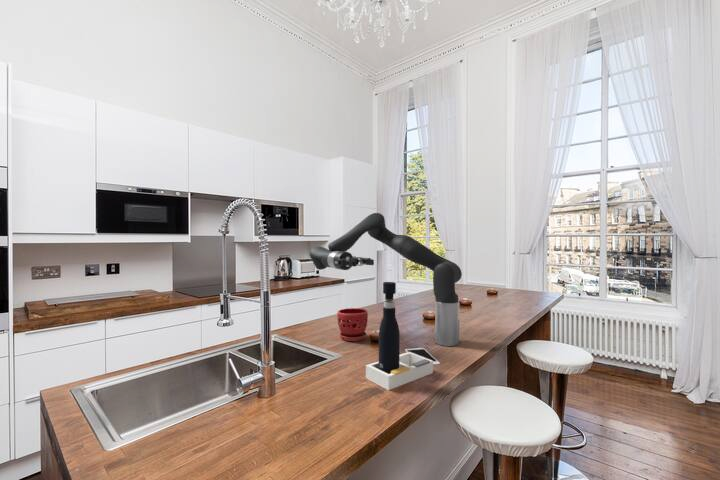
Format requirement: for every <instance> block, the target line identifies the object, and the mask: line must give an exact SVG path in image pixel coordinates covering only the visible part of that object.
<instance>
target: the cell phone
mask: <svg viewBox="0 0 720 480" xmlns="http://www.w3.org/2000/svg"><path fill="white" fill-rule="evenodd" d="M404 351H405V353H407V352H411V353H414V354H417V355H419V356H422V357H425V358H427V359H430V360H432V361H433V366H435V365H440V364H441V362H439V360H437V359H436V358H435V357H434V356H433V355H432V354H431V353H429V351H427V350H426V349H425V348H424V347H417V348H416V347H415V348H404Z"/></svg>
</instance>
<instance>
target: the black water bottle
mask: <svg viewBox="0 0 720 480" xmlns="http://www.w3.org/2000/svg"><path fill="white" fill-rule="evenodd" d="M396 286H397V285H396V282H395V281H385V282H382V293H383V294H384V295H385V298H384V300H385V301H383V304H384V305H383V309H382V319H381V321H380V325H379V329H378V361H379V370H381V371H383V372H385V373H388V374H391V371H392V370H395V369H398V368H399V355H400V339H401V338H400V337H401V336H400V327H399V324H398V320H397V317H396V307H395V306H396V305H395V304H396V303H395V301H394V299H395V298H394V295H395V294H396V293H397V292H396V291H397V287H396Z"/></svg>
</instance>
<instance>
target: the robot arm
mask: <svg viewBox="0 0 720 480" xmlns="http://www.w3.org/2000/svg"><path fill="white" fill-rule="evenodd" d="M386 226H387V225H386V219H385V216H384V214H382V213H380V212H374V213H371V214H368V215H367V216H366V217H364V218H363V219H362V220H361V221H360V222H359V223H358V224H356V225H354V227H352V228H351V229H350V230H349V231H347V232H346V233H345V234H343V235H342V236H340V237H338V238H336V239H335V240H333V241H332V242H330V243H329V244H328V246H327V247H328V248H326V247H323V246H315V247H313V248H311V249H310V251H309V258H310V260H311V261H312V263H313V264H314V266H315V268H316V269H317V270H325V269H326V268H331V269H335V270H341V271H348V270H350V269H352V267H362V266H364V265H366V266H374V265H375V260H374V259H373V258H370V257H362V256H355V255H354V256H353V255H352V253H351V252H349V251H348V250H350V249H351V248H353V247H354V245H355V244H356V243H357V242H358V240H359V239H361V237H362V236H363V235H364V234H365V233H367V234H368V235H369V236H370V237H371V238H372V239H374V240H376V241H378V242H380V243H382V244H384V245H386V246H387V247H389V248H391V250H393V251H395V252H396V253H398V254H399V255H400V256H402V257H403V258H405V259H407V260H408V261H409V262H412V263H414V264H417V265H419V266H423V267H425V268H427V269H429V270H431V271H433V273H432V274H433V275H432V285H433V295H434V298H435V302H434V306H435V307H434V308H435V309H434V310H435V314H434V315H435V316H434V317H435V318H434V321H435V323H434V329H435V331H434V332H435V333H434V342H435V343H436V344H437V345H440V346H445V347H452V346H457V345H458V344H459V343H460V318H459V295H458V294H457V293H456V286H455V285H456V283H458V282H459V281H460V280H461V279H462V275H463V273H462V269H461V268H460V266H459V265H458V264H457V263H455V262H453V261H451V260H449V259H447V258H445V257H443V256H441V255H440V254H437V253H435V252H434V251H433V250H431V248H428V247H427V246H425V245H423V244H422V243H421V242H419V240H416V239H414V238H413V237H411V236H410V235H405V234H395V233H394V232H392V231H391V230H389V229H388V228H387V227H386Z"/></svg>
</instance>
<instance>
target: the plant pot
mask: <svg viewBox="0 0 720 480" xmlns="http://www.w3.org/2000/svg"><path fill="white" fill-rule="evenodd" d="M336 313H337V315H336V316H337V326H338V328H339V331H340V332H339V337H340V338H341V339H342V340H344V341H347V342H348V341H349V342H356V341H357V342H358V341H362V340H363V339H365V338H366V337H367V332H366V329H367V326H368V322H369V321H368V320H369V319H368V318H369V317H368V314H369V312H368V310H367V309H365V308H359V307H358V308H355V307H354V308H353V307H350V308H342V309H340V310H337V312H336Z"/></svg>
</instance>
